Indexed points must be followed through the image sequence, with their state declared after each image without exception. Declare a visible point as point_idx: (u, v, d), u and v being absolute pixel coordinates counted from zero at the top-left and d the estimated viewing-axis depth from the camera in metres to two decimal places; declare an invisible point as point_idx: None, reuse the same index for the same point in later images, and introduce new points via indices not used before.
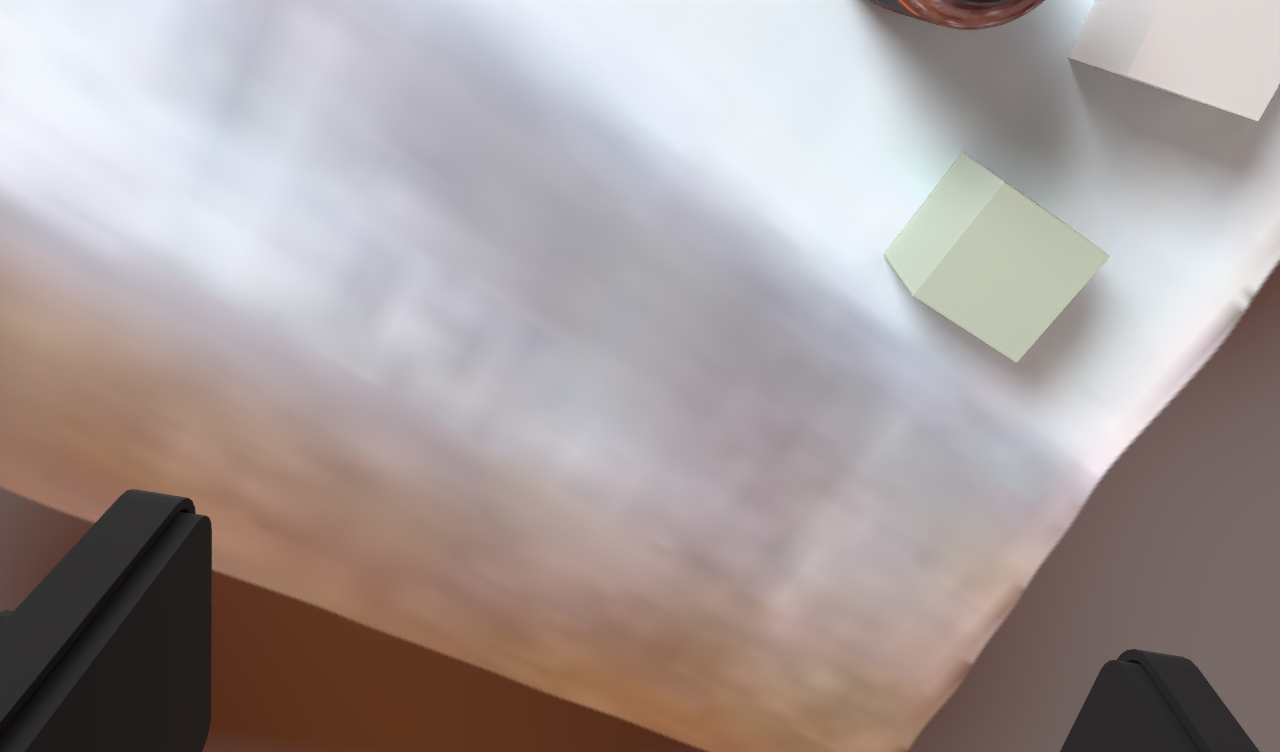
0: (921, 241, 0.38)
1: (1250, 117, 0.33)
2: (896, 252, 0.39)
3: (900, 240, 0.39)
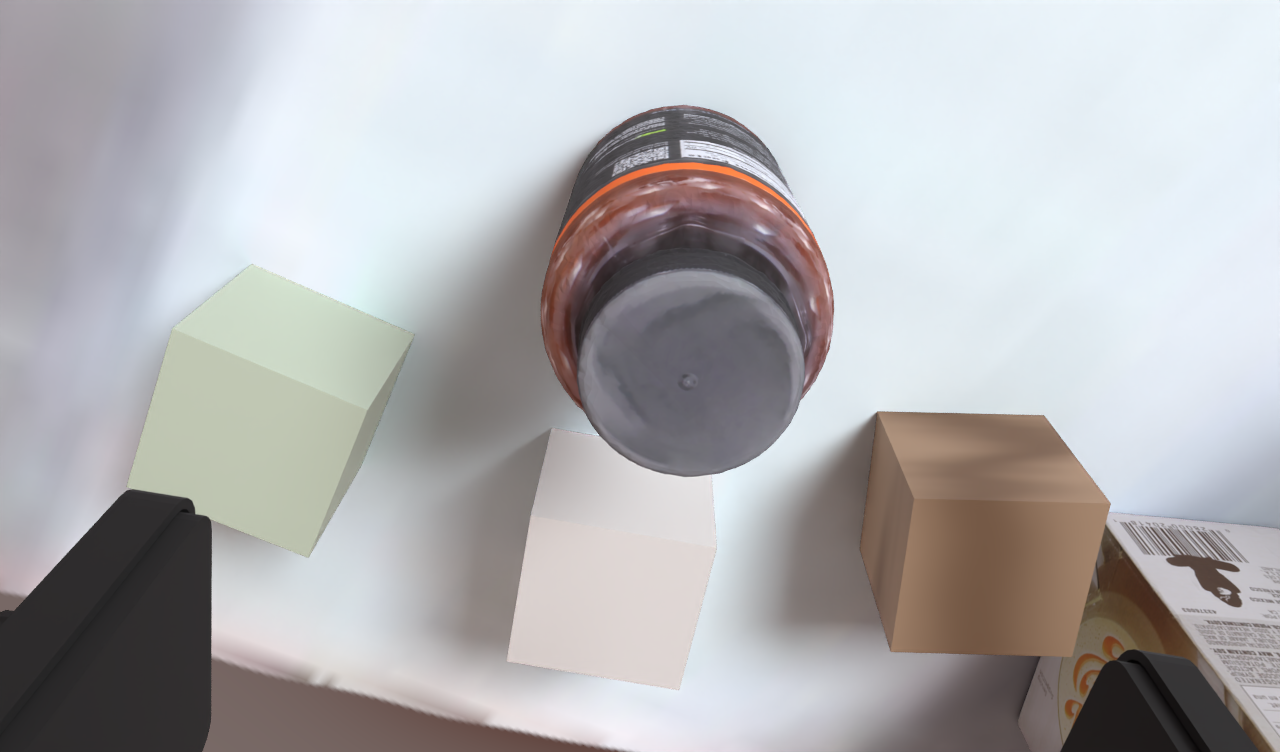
0: (271, 314, 0.26)
1: (509, 652, 0.28)
2: (254, 282, 0.27)
3: (274, 283, 0.28)
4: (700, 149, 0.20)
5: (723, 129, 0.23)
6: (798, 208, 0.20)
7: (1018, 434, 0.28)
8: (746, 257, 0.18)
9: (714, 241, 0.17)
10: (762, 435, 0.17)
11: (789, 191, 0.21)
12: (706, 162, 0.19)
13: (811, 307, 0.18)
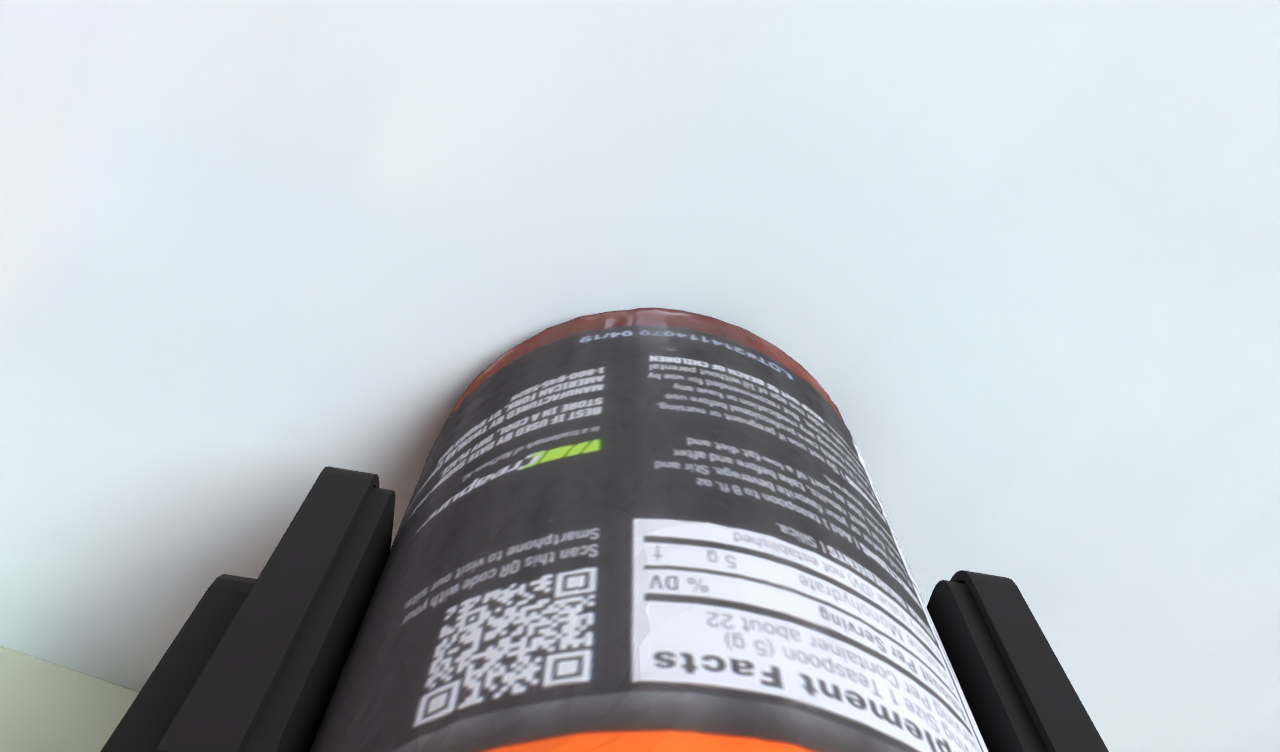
0: None
1: None
2: None
3: None
4: (691, 595, 0.07)
5: (742, 415, 0.10)
6: (975, 747, 0.07)
7: None
8: None
9: None
10: None
11: (924, 629, 0.08)
12: (710, 710, 0.06)
13: None
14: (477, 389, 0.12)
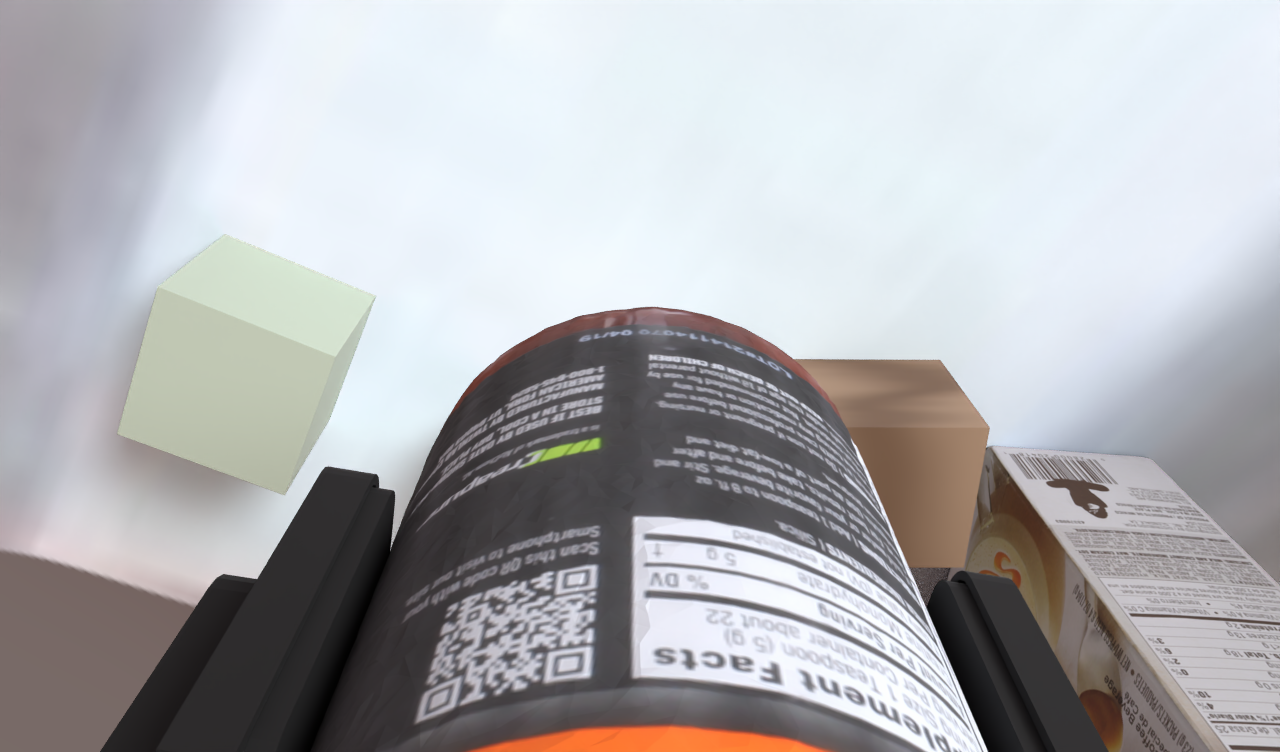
0: (246, 276, 0.29)
1: None
2: (228, 249, 0.30)
3: (246, 250, 0.31)
4: (691, 592, 0.07)
5: (741, 414, 0.10)
6: (973, 743, 0.07)
7: (916, 375, 0.32)
8: None
9: None
10: None
11: (923, 627, 0.08)
12: (711, 708, 0.06)
13: None
14: (477, 388, 0.12)
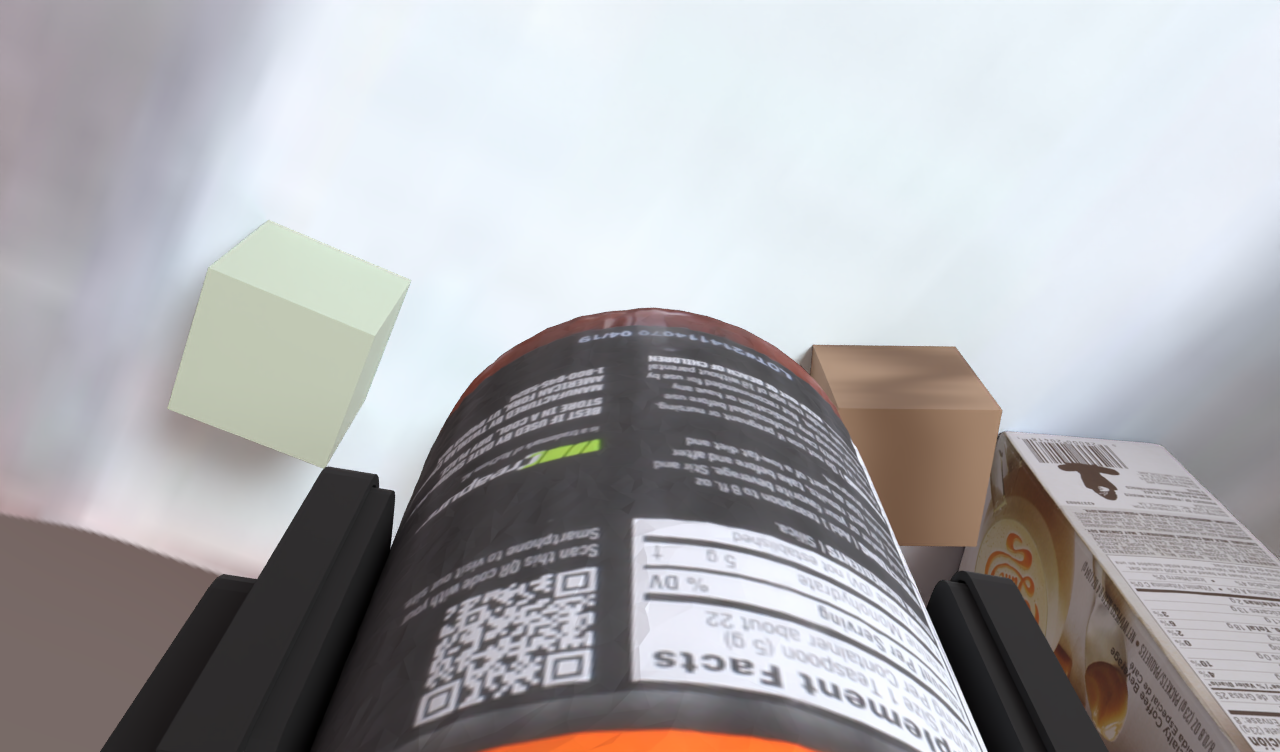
0: (289, 260, 0.31)
1: None
2: (272, 234, 0.32)
3: (289, 235, 0.32)
4: (691, 595, 0.07)
5: (741, 415, 0.10)
6: (974, 746, 0.07)
7: (931, 360, 0.33)
8: None
9: None
10: None
11: (923, 629, 0.08)
12: (710, 709, 0.06)
13: None
14: (476, 389, 0.12)
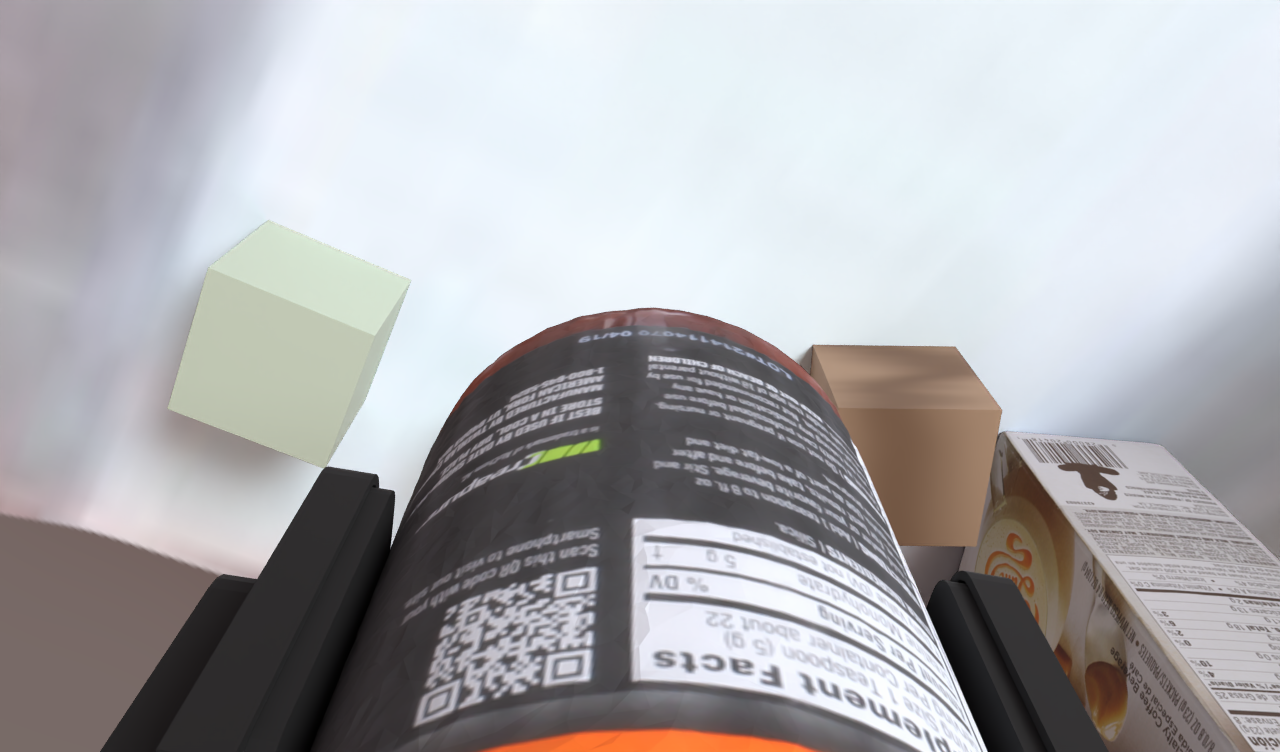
0: (289, 260, 0.31)
1: None
2: (272, 234, 0.32)
3: (289, 236, 0.32)
4: (691, 595, 0.07)
5: (741, 415, 0.10)
6: (974, 746, 0.07)
7: (931, 360, 0.33)
8: None
9: None
10: None
11: (923, 629, 0.08)
12: (710, 709, 0.06)
13: None
14: (476, 389, 0.12)
